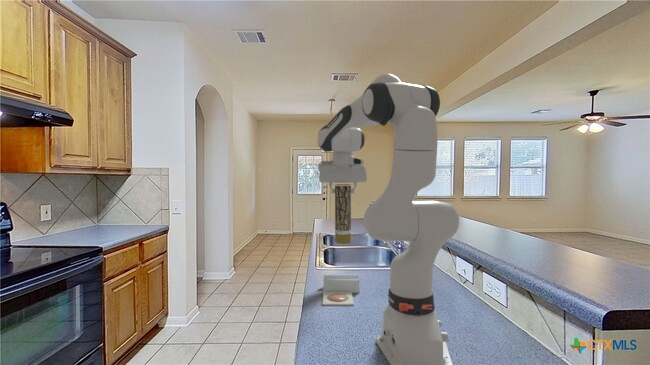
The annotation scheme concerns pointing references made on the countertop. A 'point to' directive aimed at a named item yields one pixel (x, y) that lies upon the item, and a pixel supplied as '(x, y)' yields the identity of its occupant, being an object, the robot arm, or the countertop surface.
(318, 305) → the countertop surface
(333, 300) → the resting pad
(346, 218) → the wooden log
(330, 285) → the low walls
